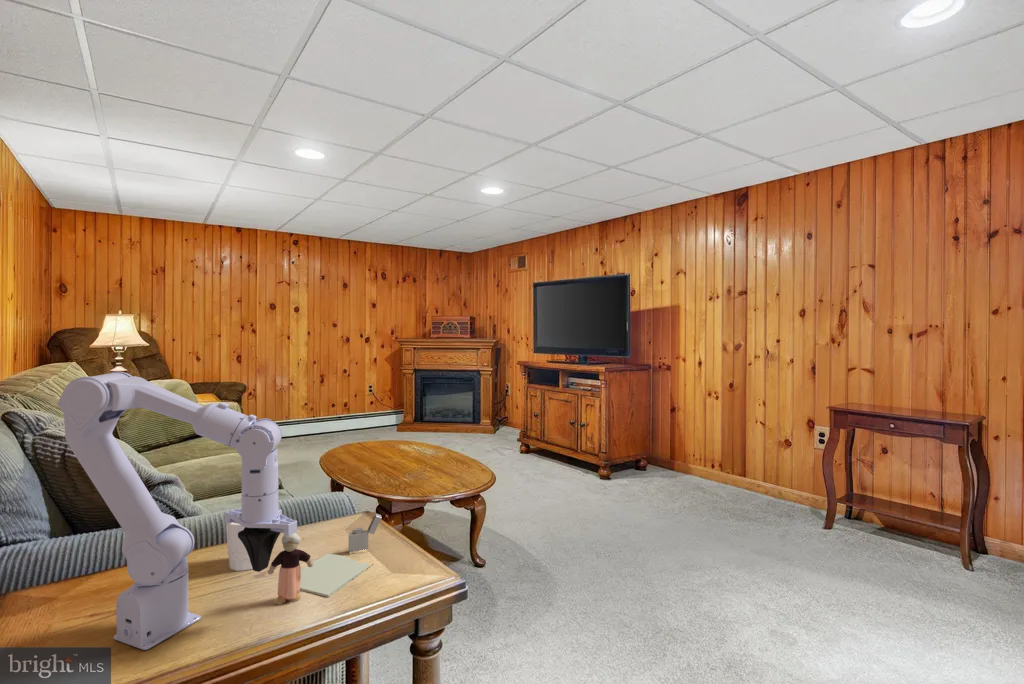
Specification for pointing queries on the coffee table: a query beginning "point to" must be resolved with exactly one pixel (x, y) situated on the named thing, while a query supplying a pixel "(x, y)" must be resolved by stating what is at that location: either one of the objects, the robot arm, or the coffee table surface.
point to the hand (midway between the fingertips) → (260, 568)
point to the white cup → (236, 549)
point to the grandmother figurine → (289, 569)
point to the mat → (329, 574)
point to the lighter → (362, 535)
